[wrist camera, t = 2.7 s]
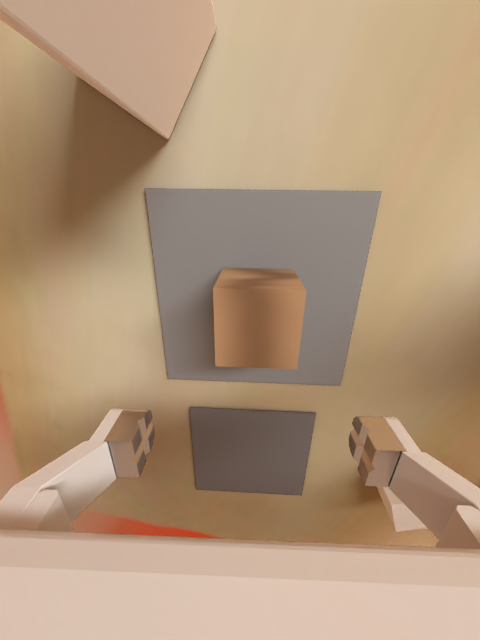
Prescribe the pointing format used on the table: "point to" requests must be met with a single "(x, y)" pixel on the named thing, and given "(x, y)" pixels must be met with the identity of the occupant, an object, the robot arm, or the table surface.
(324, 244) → the tile
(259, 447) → the mat
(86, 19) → the milk carton
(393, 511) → the beige block
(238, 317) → the walnut block
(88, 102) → the table surface
